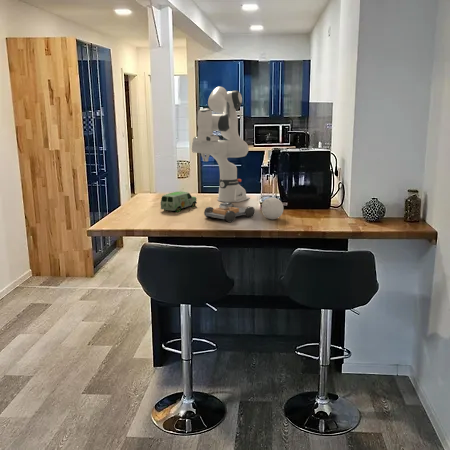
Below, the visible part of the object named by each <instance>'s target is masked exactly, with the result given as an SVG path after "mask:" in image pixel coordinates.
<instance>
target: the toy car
mask: <svg viewBox="0 0 450 450" xmlns="http://www.w3.org/2000/svg"><path fill="white" fill-rule="evenodd" d="M197 204H198V202H197V197H196V196H192V194H191V193H190V192H188V191H173V192H169V193H166V194H163V195H161V199H160V210H163V211H164V212H166V211H172V212H174V211H175V213H179V212H181V210H182V209H184V208H188V207H191V208H195V207H197Z"/></svg>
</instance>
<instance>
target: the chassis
mask: <svg viewBox="0 0 450 450" xmlns="http://www.w3.org/2000/svg"><path fill="white" fill-rule="evenodd" d="M230 203H231V205H232V209H231V210H226V211H224V210H219V207H216V208H215V207H213V206H206V207H205V209H204V212H203V215H204V216H205V218H209V219H211V218H216V219H221V220H225V221H226V222H227V223H233V222H234V221H235V220H236V217H240V216H243V215H245V216H246V218H253V217H254V215H255V213H256V211H255V208H254V207H253V206H251V205H250V206H247V207H245V208H244V207H242V206H241V207H240V206H234V204H233V202H230Z"/></svg>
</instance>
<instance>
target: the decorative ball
mask: <svg viewBox="0 0 450 450" xmlns="http://www.w3.org/2000/svg"><path fill="white" fill-rule="evenodd" d="M261 212H262V214H263V216H264V217H265V218H266V219H269V220H276V219H278V218H280V217H281V216H282V215H283V213H284V205H283V202H282V201H281V200H280V199H279V198H276V197H268V198H266V199H264V200H263V202H262V203H261Z"/></svg>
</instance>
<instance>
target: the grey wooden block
mask: <svg viewBox="0 0 450 450" xmlns="http://www.w3.org/2000/svg"><path fill="white" fill-rule="evenodd" d="M231 203H232V202H220V203H219V205H218V208H219V210H224V211H226V210H231V209H232V205H231Z"/></svg>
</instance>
